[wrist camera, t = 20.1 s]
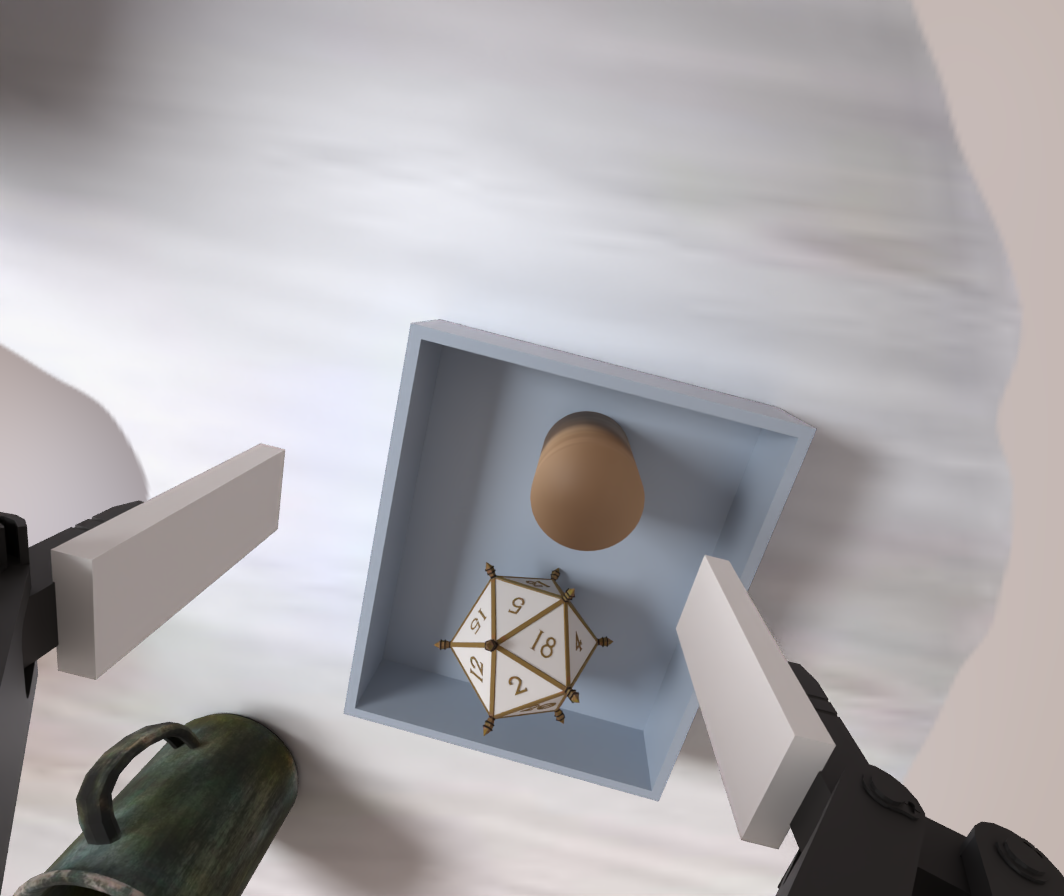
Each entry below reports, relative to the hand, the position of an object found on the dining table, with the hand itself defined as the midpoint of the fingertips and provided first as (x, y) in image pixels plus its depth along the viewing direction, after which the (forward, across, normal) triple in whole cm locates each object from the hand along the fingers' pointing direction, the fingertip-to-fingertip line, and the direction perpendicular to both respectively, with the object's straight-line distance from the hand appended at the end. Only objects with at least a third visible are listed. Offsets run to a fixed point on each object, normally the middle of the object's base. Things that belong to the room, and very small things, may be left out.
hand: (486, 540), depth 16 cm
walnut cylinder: (+14, +4, -1) cm, 15 cm away
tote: (+14, +4, -7) cm, 17 cm away
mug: (+15, -16, -30) cm, 37 cm away
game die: (+14, +3, -11) cm, 18 cm away
